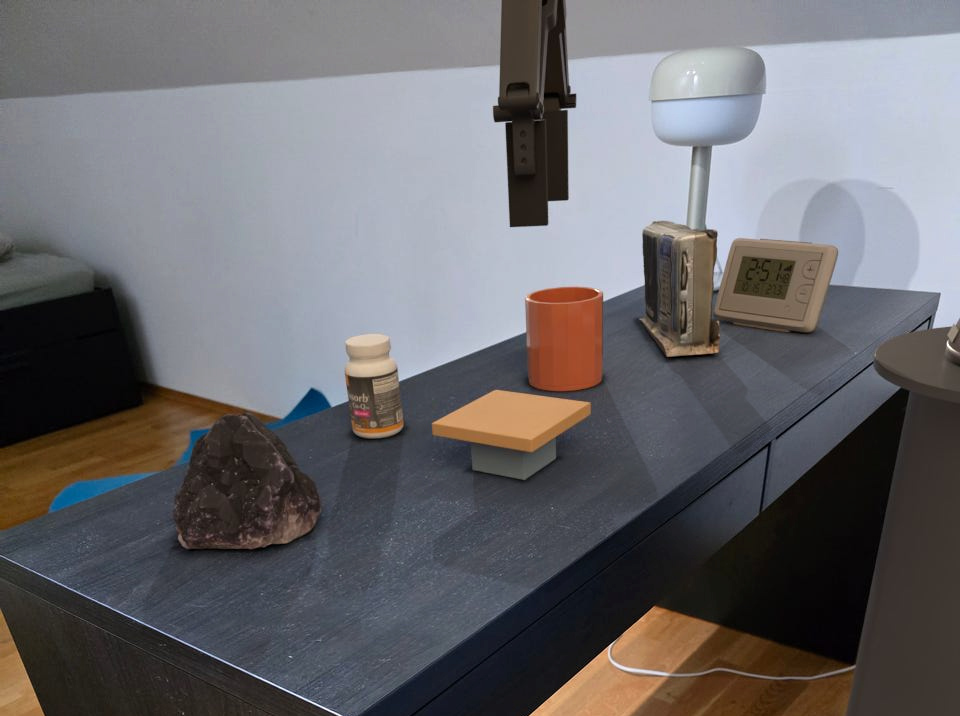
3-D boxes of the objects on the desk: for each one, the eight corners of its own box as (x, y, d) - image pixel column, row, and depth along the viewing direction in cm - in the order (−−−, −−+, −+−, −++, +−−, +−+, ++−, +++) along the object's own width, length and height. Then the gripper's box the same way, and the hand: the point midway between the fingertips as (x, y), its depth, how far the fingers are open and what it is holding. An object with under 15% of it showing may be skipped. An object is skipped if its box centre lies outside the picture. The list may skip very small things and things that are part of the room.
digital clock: (706, 320, 128) (711, 241, 122) (751, 309, 131) (758, 232, 126) (792, 340, 116) (803, 254, 110) (839, 328, 119) (852, 243, 114)
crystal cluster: (255, 580, 71) (243, 462, 66) (134, 539, 76) (115, 427, 71) (353, 525, 81) (350, 419, 76) (241, 492, 86) (231, 391, 81)
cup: (614, 373, 109) (616, 288, 104) (579, 395, 103) (579, 306, 98) (552, 366, 114) (550, 284, 108) (515, 386, 108) (511, 300, 102)
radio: (638, 318, 132) (641, 208, 124) (697, 315, 131) (704, 204, 123) (650, 362, 112) (654, 235, 104) (719, 359, 111) (729, 230, 103)
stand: (556, 458, 87) (555, 419, 85) (524, 480, 83) (522, 439, 81) (505, 449, 90) (503, 411, 88) (472, 470, 86) (469, 430, 84)
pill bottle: (342, 433, 97) (328, 342, 92) (382, 419, 100) (371, 329, 95) (375, 444, 94) (361, 349, 88) (415, 428, 97) (405, 336, 92)
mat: (591, 414, 85) (591, 402, 84) (531, 452, 78) (531, 439, 77) (496, 400, 91) (495, 389, 90) (432, 435, 83) (431, 423, 82)
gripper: (507, -110, 68) (518, 194, 80) (432, -182, 48) (462, 241, 59) (604, -122, 67) (601, 190, 78) (569, -201, 46) (573, 236, 58)
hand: (541, 212), depth 69 cm, fingers open, 13 cm apart
